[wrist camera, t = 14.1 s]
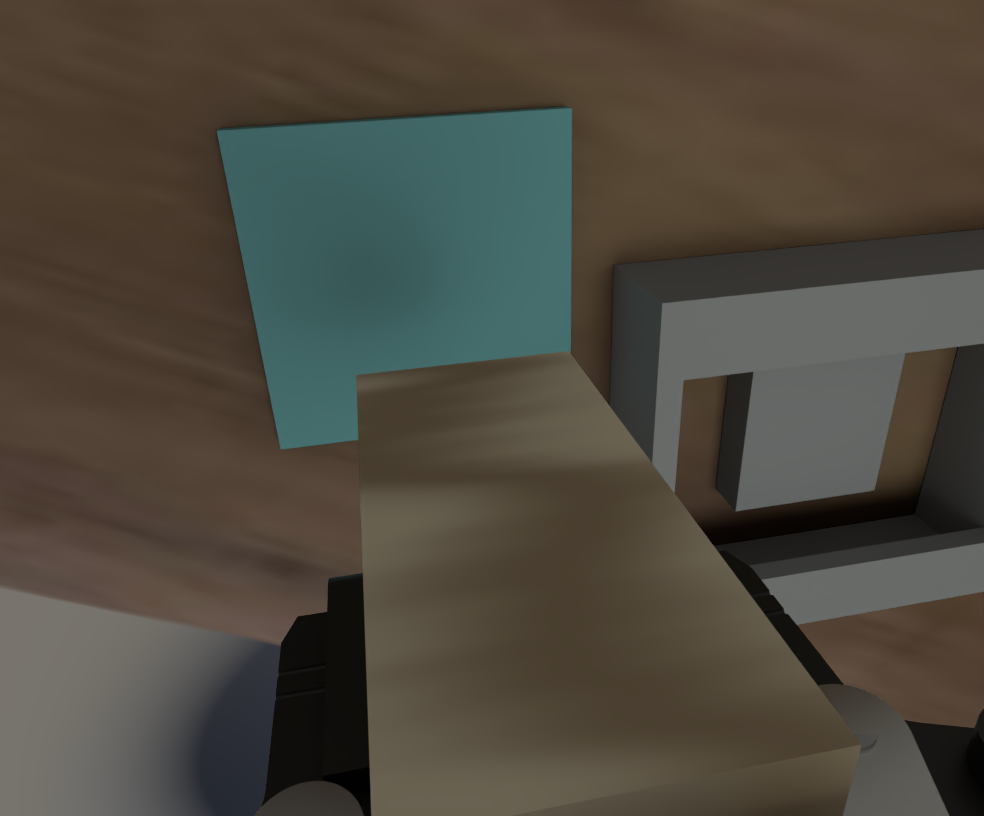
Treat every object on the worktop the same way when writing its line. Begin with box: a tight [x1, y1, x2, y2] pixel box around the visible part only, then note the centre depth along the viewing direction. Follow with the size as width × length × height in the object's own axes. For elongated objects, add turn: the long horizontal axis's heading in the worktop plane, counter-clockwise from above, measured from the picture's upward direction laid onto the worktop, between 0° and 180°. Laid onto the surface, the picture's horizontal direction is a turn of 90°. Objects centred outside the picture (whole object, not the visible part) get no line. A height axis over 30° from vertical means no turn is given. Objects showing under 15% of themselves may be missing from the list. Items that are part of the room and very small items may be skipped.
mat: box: [217, 106, 572, 449], centre depth 28 cm, size 12×12×1 cm
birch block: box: [356, 351, 861, 816], centre depth 12 cm, size 4×4×10 cm
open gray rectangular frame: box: [610, 229, 984, 625], centre depth 32 cm, size 18×16×5 cm
